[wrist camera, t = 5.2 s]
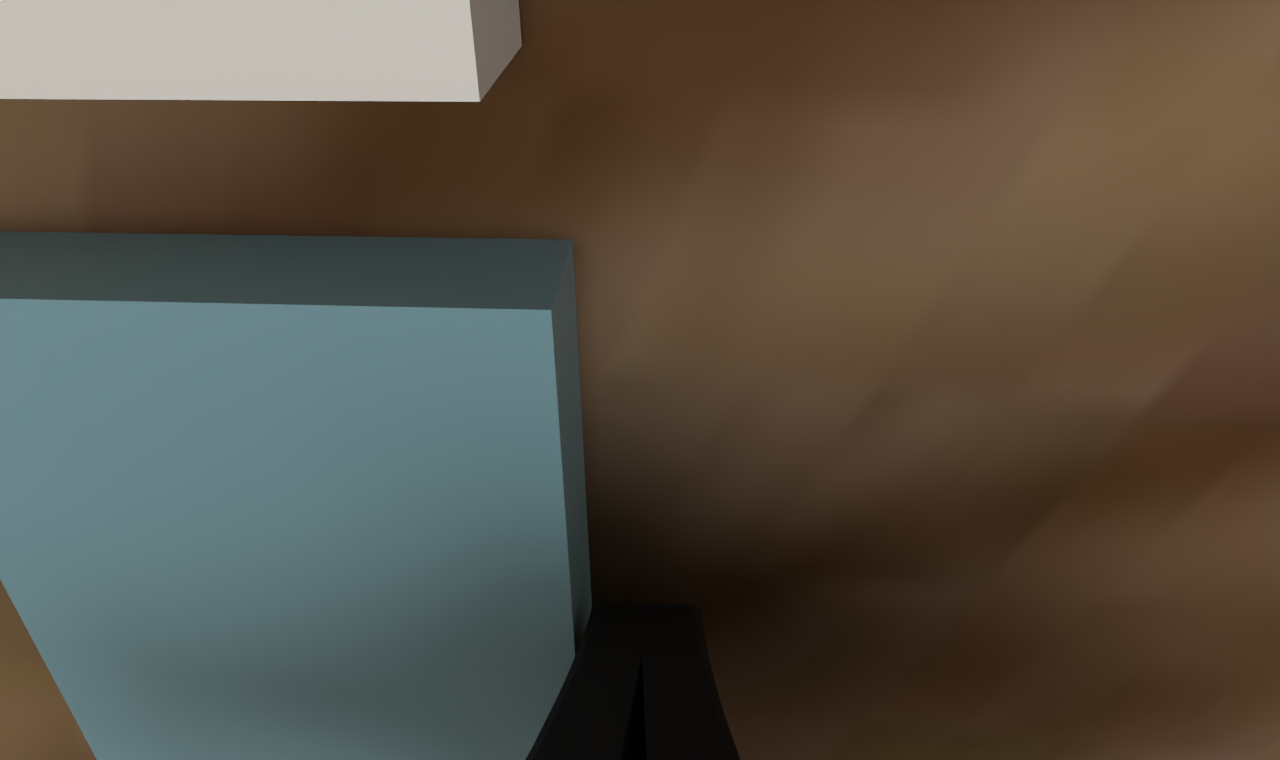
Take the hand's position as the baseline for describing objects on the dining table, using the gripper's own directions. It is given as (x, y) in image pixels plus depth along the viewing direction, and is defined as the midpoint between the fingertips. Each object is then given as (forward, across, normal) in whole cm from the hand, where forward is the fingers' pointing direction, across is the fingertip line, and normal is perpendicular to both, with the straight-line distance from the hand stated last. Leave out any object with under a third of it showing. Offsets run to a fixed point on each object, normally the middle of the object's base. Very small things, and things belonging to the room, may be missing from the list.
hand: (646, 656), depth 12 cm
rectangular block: (+2, +4, 0) cm, 5 cm away
